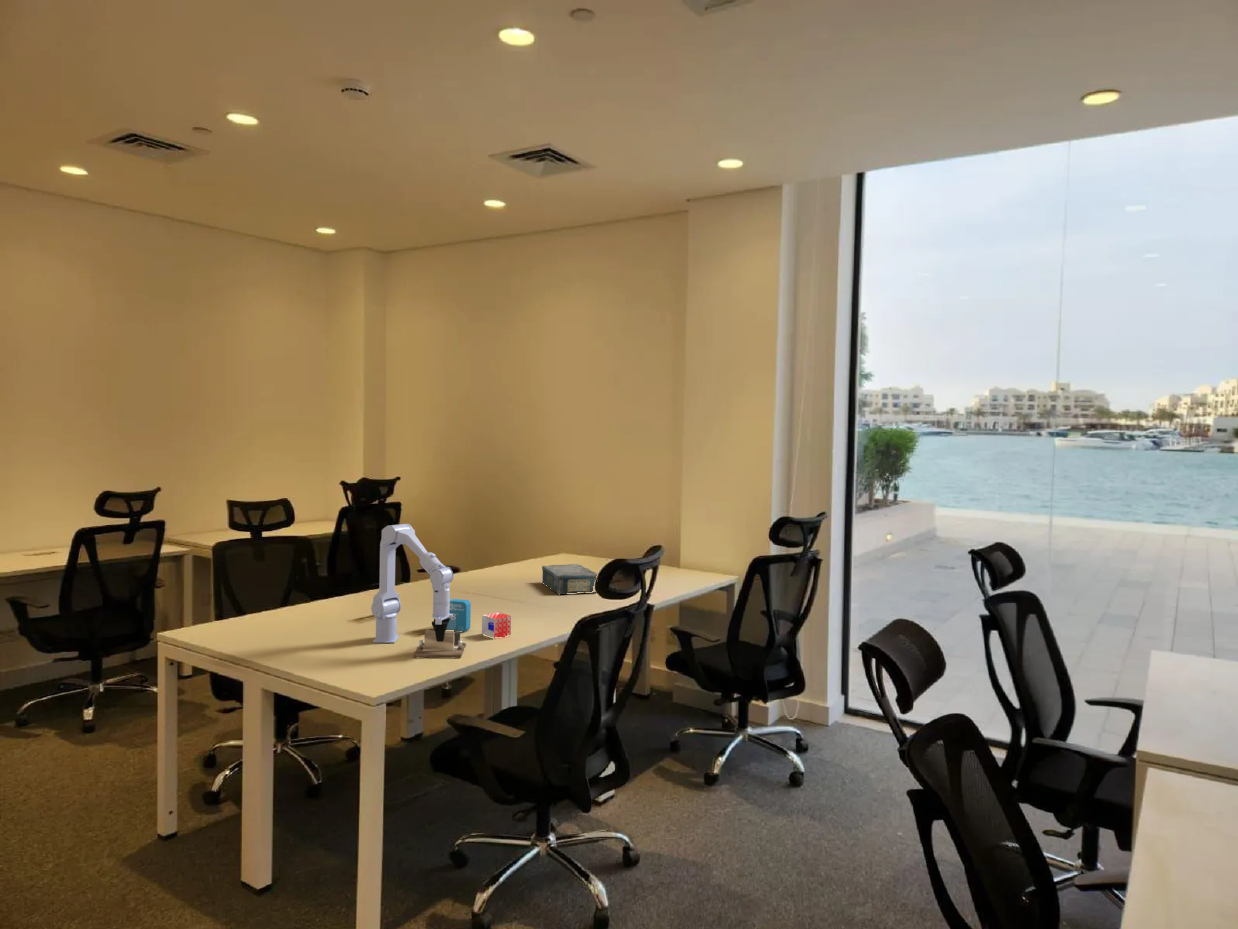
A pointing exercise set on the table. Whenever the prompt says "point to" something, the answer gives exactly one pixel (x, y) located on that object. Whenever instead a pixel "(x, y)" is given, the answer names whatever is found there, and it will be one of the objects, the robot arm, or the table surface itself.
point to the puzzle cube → (496, 625)
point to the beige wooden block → (433, 644)
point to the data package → (459, 615)
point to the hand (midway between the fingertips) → (440, 640)
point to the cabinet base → (442, 650)
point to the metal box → (568, 578)
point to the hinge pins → (422, 644)
